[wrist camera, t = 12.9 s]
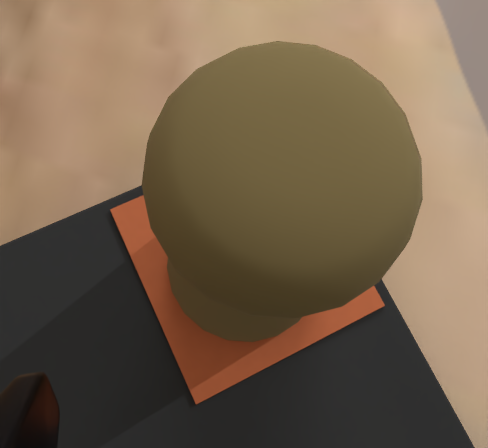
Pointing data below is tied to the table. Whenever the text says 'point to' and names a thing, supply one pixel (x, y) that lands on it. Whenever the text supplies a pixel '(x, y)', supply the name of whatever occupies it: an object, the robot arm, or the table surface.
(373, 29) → the table surface
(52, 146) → the table surface
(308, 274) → the cork
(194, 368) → the rubber mat
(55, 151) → the table surface
